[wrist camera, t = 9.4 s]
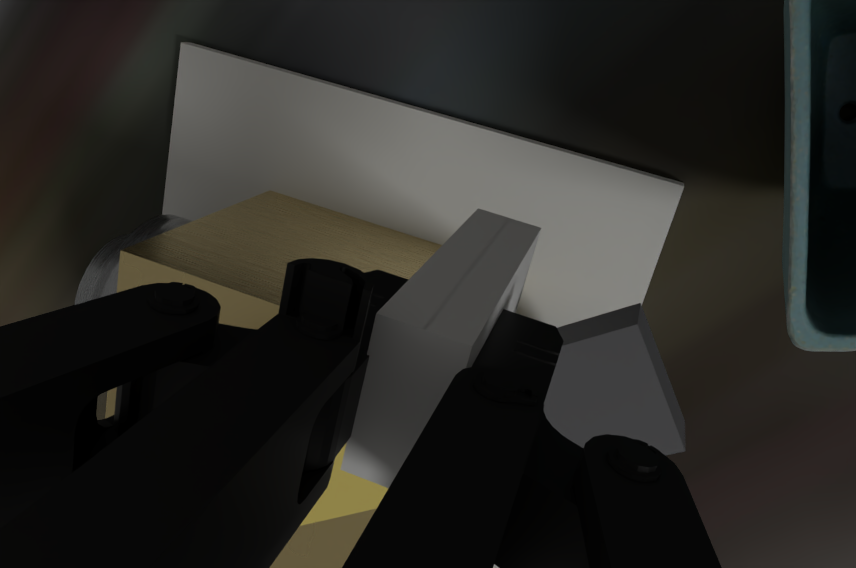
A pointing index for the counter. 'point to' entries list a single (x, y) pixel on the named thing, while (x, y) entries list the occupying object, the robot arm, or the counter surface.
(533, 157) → the mat
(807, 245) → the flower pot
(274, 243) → the valve
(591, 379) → the lever
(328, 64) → the counter surface
